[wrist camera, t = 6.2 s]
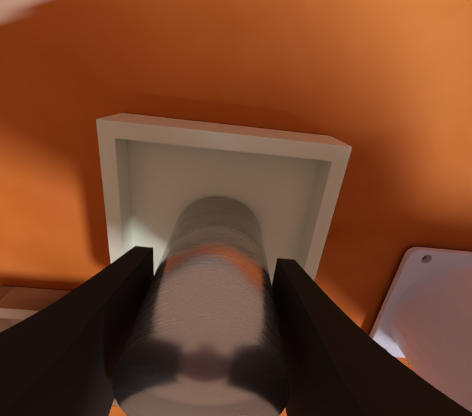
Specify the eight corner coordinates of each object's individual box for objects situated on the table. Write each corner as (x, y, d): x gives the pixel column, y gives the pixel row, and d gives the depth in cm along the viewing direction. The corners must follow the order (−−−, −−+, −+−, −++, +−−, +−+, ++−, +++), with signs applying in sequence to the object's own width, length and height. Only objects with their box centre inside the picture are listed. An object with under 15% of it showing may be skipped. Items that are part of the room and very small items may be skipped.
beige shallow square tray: (330, 135, 12) (352, 146, 10) (291, 295, 16) (300, 328, 14) (121, 112, 12) (95, 119, 9) (132, 282, 15) (115, 315, 13)
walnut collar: (142, 296, 16) (133, 317, 14) (146, 382, 19) (139, 407, 18) (2, 285, 15) (-22, 306, 14) (30, 376, 19) (13, 400, 17)
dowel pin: (272, 208, 12) (317, 348, 6) (247, 278, 14) (261, 450, 7) (182, 186, 11) (120, 312, 5) (168, 262, 13) (106, 430, 7)
